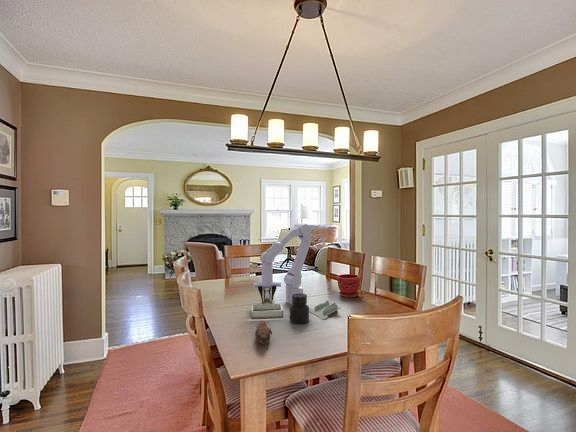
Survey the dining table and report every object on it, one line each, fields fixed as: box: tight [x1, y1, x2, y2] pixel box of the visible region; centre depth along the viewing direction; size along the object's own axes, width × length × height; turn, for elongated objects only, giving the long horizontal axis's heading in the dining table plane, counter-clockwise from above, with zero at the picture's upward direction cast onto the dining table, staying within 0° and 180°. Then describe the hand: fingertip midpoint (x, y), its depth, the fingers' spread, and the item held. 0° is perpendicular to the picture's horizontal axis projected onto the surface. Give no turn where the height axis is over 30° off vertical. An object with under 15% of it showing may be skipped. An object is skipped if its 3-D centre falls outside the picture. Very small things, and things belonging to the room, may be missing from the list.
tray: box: [250, 302, 284, 320], centre depth 155 cm, size 15×12×4 cm
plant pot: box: [336, 273, 361, 298], centre depth 189 cm, size 13×13×12 cm
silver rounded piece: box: [263, 287, 272, 304], centre depth 167 cm, size 4×4×10 cm
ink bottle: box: [289, 293, 310, 325], centre depth 146 cm, size 10×9×12 cm
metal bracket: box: [309, 300, 342, 321], centre depth 157 cm, size 14×6×15 cm
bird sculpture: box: [254, 320, 273, 349], centre depth 125 cm, size 7×25×5 cm, turn 8°
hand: (267, 300), depth 167 cm, fingers open, 4 cm apart
